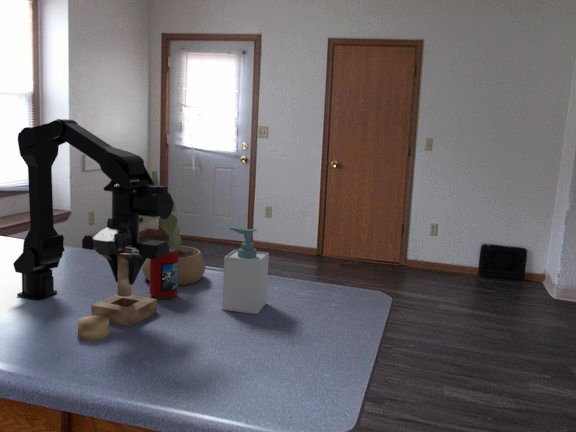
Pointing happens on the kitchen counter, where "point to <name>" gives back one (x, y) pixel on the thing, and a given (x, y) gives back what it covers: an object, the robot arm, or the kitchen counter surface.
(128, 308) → the square wooden frame
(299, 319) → the kitchen counter surface
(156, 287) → the beverage can
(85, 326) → the tan rounded disc
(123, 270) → the wooden dowel
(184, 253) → the potted plant
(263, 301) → the soap bottle
